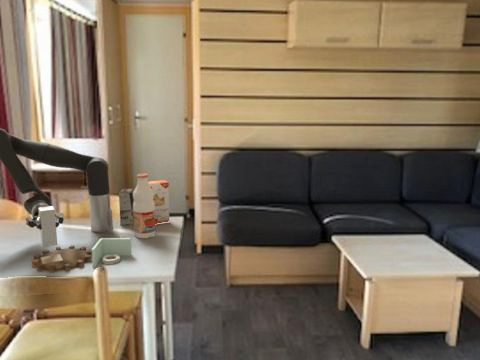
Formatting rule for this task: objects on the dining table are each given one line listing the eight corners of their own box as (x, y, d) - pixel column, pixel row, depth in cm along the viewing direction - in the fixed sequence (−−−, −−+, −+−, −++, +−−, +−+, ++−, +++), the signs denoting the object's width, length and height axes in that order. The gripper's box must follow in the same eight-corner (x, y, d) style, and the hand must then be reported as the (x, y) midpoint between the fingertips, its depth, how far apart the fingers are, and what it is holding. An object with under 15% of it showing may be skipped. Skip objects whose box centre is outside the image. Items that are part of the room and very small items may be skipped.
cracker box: (142, 228, 211) (140, 185, 206) (138, 224, 216) (136, 182, 211) (170, 223, 217) (168, 181, 213) (165, 220, 222) (164, 179, 218)
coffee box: (133, 224, 215) (132, 192, 211) (120, 225, 214) (118, 192, 211) (136, 219, 224) (134, 188, 220) (123, 219, 223) (121, 188, 220)
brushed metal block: (55, 240, 172) (52, 206, 169) (57, 245, 168) (54, 209, 165) (41, 242, 170) (38, 207, 167) (43, 247, 166) (40, 211, 163)
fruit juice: (139, 230, 207) (137, 171, 200) (159, 232, 205) (156, 172, 198) (130, 237, 198) (127, 176, 191) (150, 239, 196) (148, 177, 189)
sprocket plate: (85, 246, 187) (85, 242, 187) (98, 264, 169) (97, 259, 169) (29, 256, 176) (28, 251, 176) (36, 277, 158) (35, 271, 158)
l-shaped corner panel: (92, 268, 167) (91, 249, 166) (101, 255, 179) (100, 238, 177) (125, 268, 168) (124, 249, 166) (131, 255, 180) (130, 238, 178)
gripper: (22, 206, 175) (26, 219, 161) (60, 202, 182) (68, 213, 168) (23, 225, 177) (28, 238, 162) (62, 220, 184) (69, 232, 169)
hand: (48, 225), depth 165 cm, fingers closed on brushed metal block, 5 cm apart
